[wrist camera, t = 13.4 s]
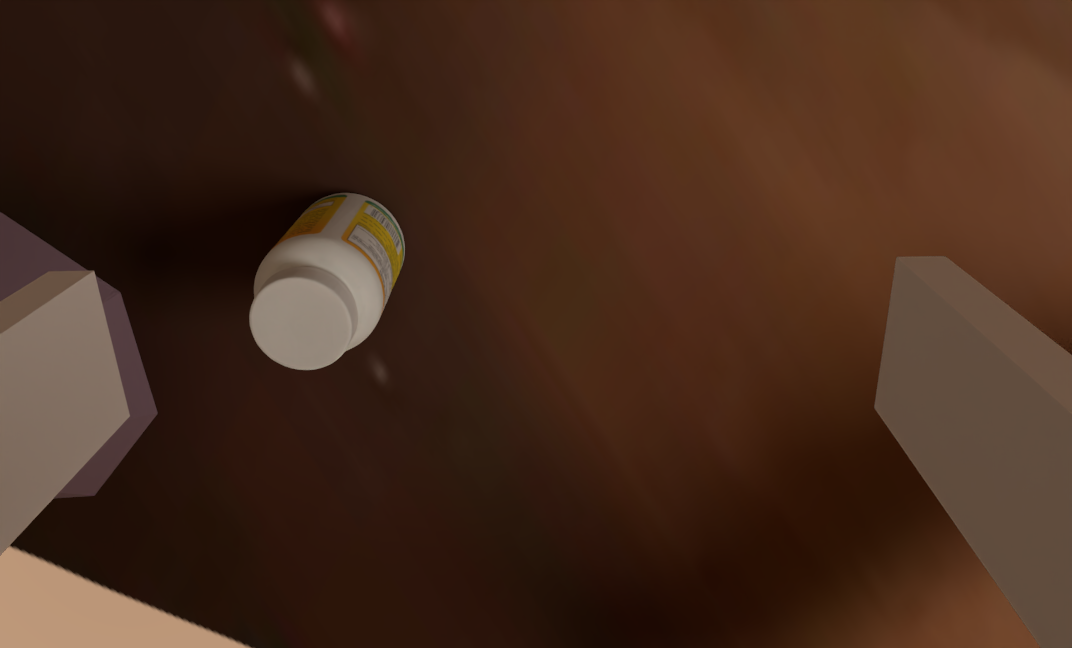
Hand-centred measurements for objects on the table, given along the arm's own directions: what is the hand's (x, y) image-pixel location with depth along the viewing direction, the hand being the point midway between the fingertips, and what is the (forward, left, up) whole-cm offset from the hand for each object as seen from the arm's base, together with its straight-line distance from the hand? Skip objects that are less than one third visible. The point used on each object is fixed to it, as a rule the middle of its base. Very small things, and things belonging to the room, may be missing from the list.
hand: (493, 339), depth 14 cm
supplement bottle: (+9, +7, -27) cm, 29 cm away
